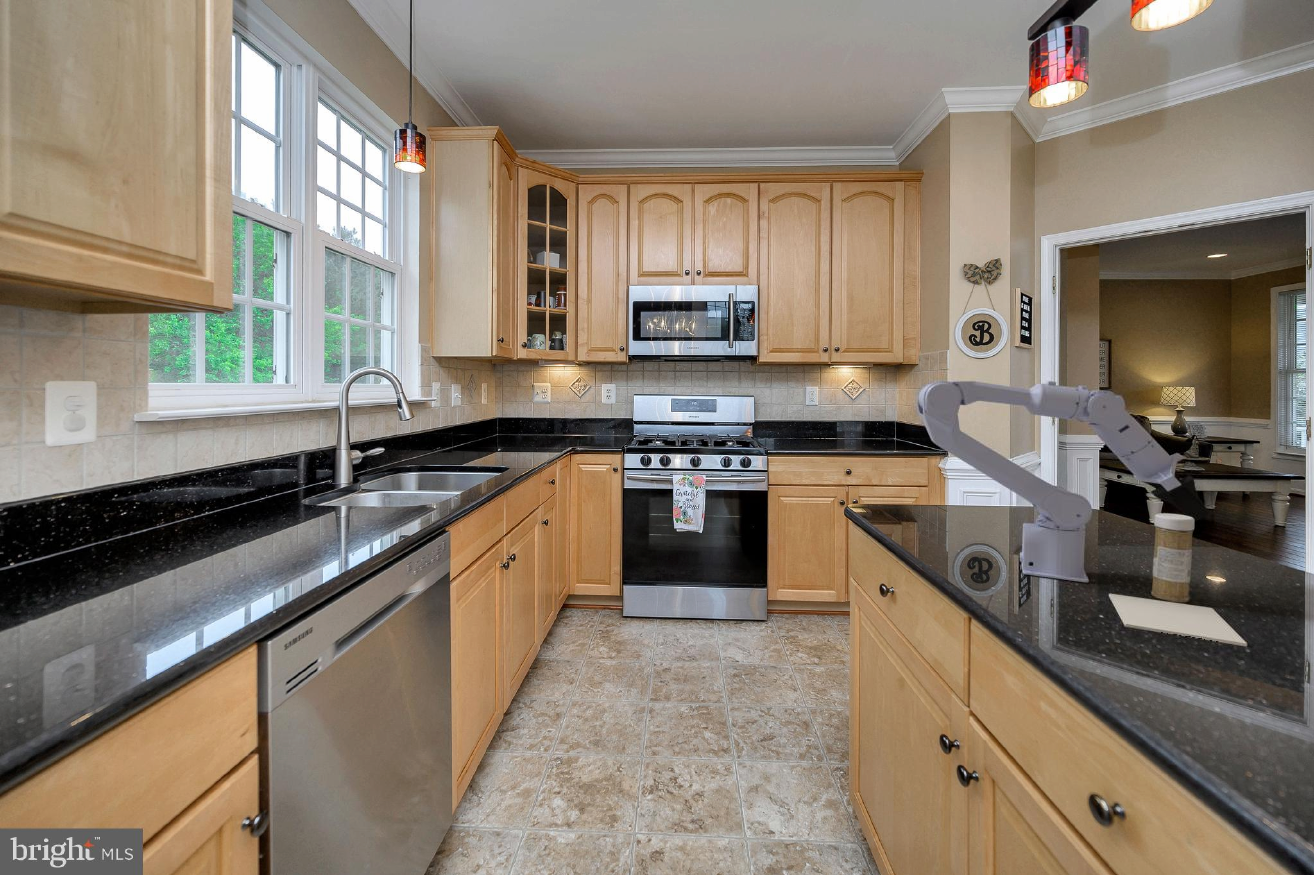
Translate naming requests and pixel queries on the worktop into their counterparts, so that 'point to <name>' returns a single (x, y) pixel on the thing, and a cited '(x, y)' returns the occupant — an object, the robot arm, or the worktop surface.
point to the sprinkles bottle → (1172, 557)
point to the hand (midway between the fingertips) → (1193, 509)
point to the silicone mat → (1174, 619)
